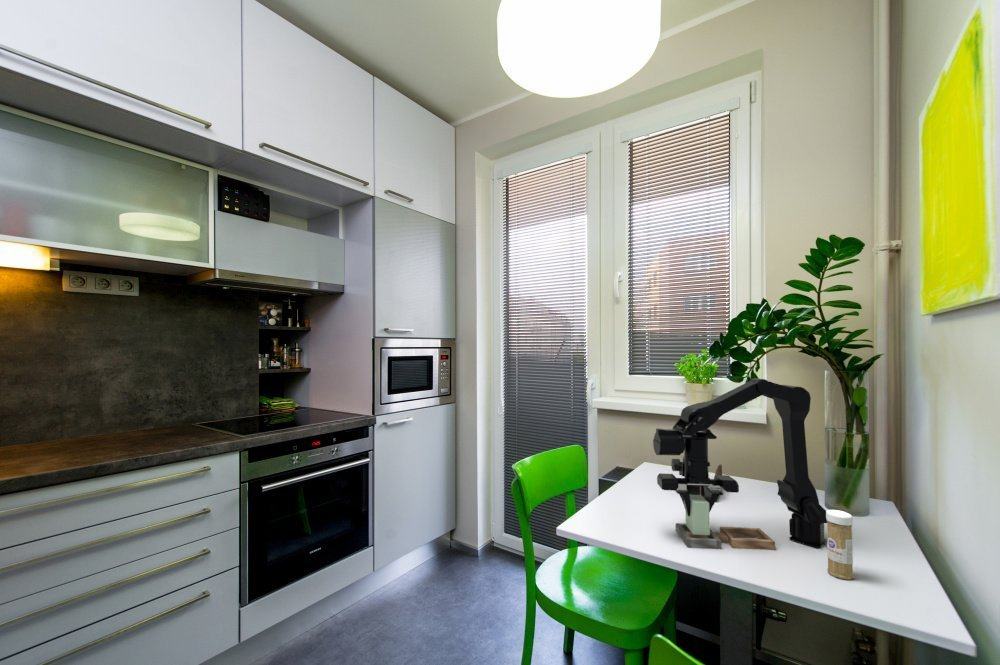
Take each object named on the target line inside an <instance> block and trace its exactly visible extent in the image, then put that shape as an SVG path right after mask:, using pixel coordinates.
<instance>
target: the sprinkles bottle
mask: <svg viewBox="0 0 1000 665" xmlns="http://www.w3.org/2000/svg"><path fill="white" fill-rule="evenodd" d="M826 519H827V523H826V524H827V525H826V527H827V528H826V532H827V536H826V537H827V538H826V539H827V542H826V547H827V548H826V550H827V551H826V552H827V556H826V557H827V573H829V574H830V575H831V576H832V577H835V578H836V579H840V580H846V581H847V580H852V579H854V571H853V568H854V567H853V564H854V563H853V562H854V559H853V558H854V556H853V553H854V552H853V550H854V549H853V536H852V535H853V533H852V532H853V531H852V530H853V529H852V527H853V524H854V523H853V522H854V521H853V515H852V514H851V513H848V512H847V511H843V510H838V509H828V510H826Z"/></svg>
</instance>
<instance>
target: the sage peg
mask: <svg viewBox="0 0 1000 665" xmlns="http://www.w3.org/2000/svg"><path fill="white" fill-rule="evenodd" d="M710 520H711V519H710V513H709V502H708V501H707V500H706V499H704V498H703V497H702V496H701V495H690V516H688V515H687V513H686V510H685V524H686V526H687V527H688V528H689V530H690V531H691V532H692V534H693V535H710V529H711V525H710Z"/></svg>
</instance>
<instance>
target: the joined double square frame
mask: <svg viewBox="0 0 1000 665" xmlns="http://www.w3.org/2000/svg"><path fill="white" fill-rule="evenodd" d="M675 532H676V533H677V535H678V536H679V537H680V539H681V541H682V543H684V545H685V546H686V548H690V549H709V550H710V549H712V550H713V549H714V550H722V544H728V546H730V547H731V548H732V549H744V550H765V551H776V541H775V540H773V538H771V536H769V535H768V534H767V533H765V531H763V530H762V529H761V528H759V527H742V526H741V527H739V526H719V531H713V530H712V529H711V528H710V535H693V534H692V532H691V531H690V530H689V528H688V527H687V526H686V523H680V522H679V523H678V522H675ZM735 537H736V538H735ZM738 537H739V538H738ZM740 537H741V538H740ZM756 538H757V539H756Z"/></svg>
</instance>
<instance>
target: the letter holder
mask: <svg viewBox="0 0 1000 665" xmlns="http://www.w3.org/2000/svg"><path fill="white" fill-rule="evenodd" d="M715 475H723V466H722V464H718V466H717V468H716V470H715V473H714V477H715ZM714 477H713V478H714ZM683 478H685V477H684V476H683ZM691 483H694V482H691ZM699 483H701V482H699ZM687 490H688V491H689V492H690V495H701V496H702V497H703V498H704V499H705V492H704V486H687ZM722 490H723V487H721V491H722ZM719 497H720V496H719ZM719 497H718V499H717V500H716V502H715V503H717V502H718V501H719Z"/></svg>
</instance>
